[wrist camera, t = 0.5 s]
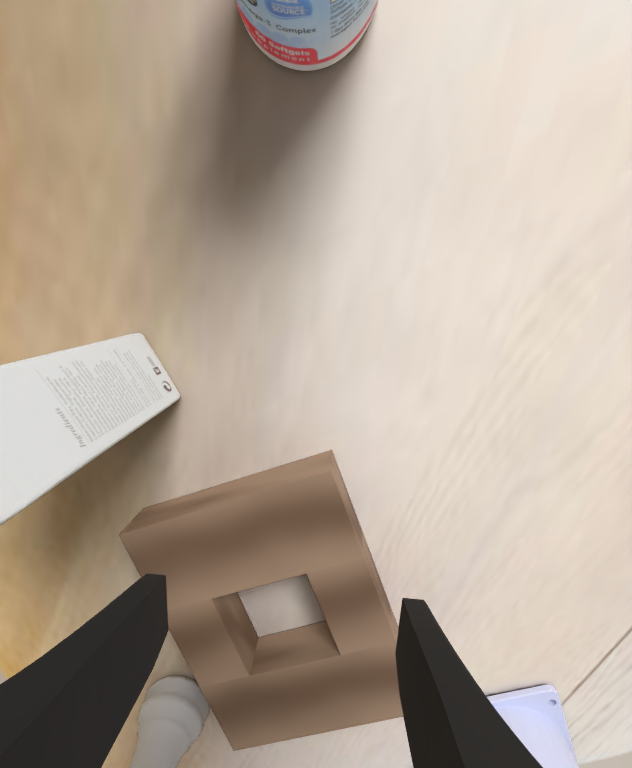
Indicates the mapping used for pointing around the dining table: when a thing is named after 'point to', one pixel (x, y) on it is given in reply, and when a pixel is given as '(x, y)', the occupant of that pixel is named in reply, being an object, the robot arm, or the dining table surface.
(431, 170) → the dining table surface
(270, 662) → the socket board
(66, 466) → the skincare box
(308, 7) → the pill bottle
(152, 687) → the rook chess piece
